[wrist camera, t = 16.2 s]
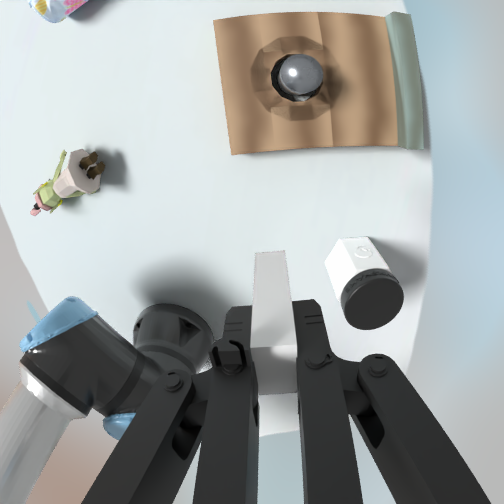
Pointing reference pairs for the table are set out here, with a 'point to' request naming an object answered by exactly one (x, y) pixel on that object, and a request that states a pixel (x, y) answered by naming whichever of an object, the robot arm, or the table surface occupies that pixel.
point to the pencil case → (55, 8)
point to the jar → (363, 283)
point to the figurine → (69, 181)
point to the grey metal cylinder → (300, 74)
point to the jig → (332, 86)
